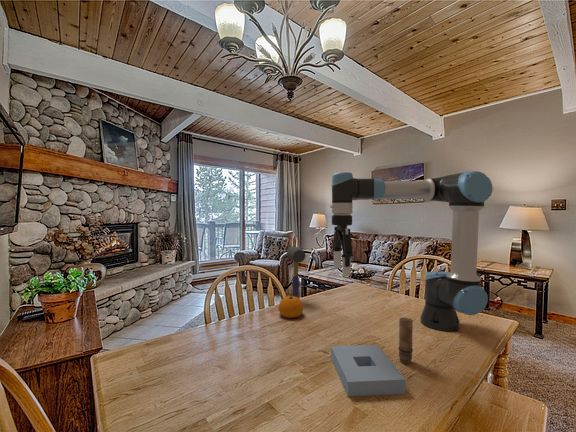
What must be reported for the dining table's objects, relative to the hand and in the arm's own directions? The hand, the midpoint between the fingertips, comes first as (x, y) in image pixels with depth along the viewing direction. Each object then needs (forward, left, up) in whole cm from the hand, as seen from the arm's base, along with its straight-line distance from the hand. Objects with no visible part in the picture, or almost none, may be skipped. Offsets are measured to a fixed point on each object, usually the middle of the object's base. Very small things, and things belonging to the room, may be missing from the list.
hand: (341, 271), depth 108 cm
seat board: (-2, +21, -27) cm, 34 cm away
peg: (-18, +15, -27) cm, 35 cm away
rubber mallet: (+12, -46, -27) cm, 55 cm away
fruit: (+16, -29, -27) cm, 43 cm away
